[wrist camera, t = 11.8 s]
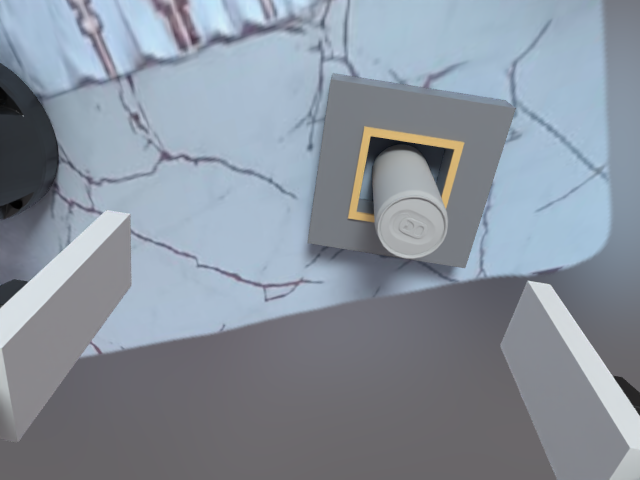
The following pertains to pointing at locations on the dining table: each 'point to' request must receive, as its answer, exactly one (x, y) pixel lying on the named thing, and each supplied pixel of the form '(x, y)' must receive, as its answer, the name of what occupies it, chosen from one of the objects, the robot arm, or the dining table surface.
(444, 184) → the socket plate
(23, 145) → the robot arm
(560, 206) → the dining table surface
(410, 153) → the beverage can
